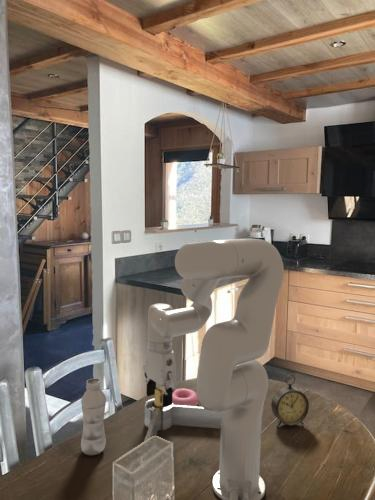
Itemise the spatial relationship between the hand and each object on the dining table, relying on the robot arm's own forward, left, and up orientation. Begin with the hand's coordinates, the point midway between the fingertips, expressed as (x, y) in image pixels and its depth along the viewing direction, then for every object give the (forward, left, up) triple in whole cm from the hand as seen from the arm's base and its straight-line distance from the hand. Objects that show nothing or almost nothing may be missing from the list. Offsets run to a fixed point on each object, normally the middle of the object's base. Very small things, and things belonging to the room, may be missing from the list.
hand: (159, 399), depth 126 cm
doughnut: (+13, -6, -8) cm, 16 cm away
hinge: (-8, -8, -7) cm, 13 cm away
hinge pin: (0, 0, -7) cm, 7 cm away
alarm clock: (+5, -40, -8) cm, 41 cm away
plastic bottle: (-17, +15, -8) cm, 24 cm away
